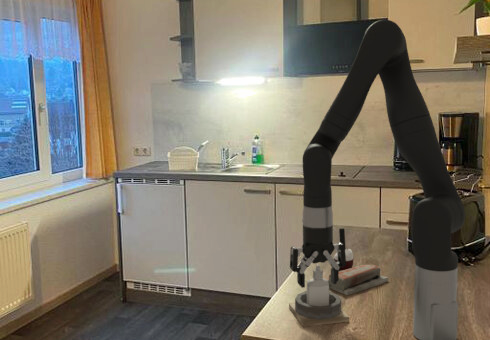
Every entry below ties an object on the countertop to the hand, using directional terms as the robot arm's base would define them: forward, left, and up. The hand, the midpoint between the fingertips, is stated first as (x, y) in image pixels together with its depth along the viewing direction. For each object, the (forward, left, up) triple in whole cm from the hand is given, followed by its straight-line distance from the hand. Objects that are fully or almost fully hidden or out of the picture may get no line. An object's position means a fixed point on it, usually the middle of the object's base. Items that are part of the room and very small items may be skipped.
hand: (318, 284), depth 136 cm
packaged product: (+18, -18, -9) cm, 27 cm away
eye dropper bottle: (+1, 0, -7) cm, 7 cm away
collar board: (0, 0, -8) cm, 8 cm away
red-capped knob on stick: (+31, -20, -8) cm, 38 cm away
